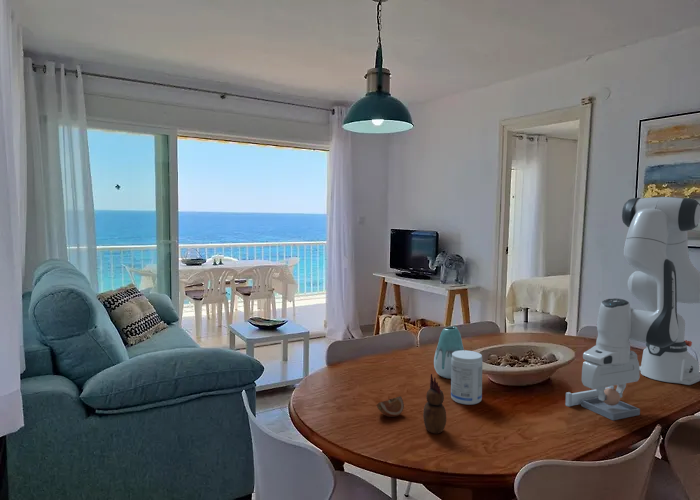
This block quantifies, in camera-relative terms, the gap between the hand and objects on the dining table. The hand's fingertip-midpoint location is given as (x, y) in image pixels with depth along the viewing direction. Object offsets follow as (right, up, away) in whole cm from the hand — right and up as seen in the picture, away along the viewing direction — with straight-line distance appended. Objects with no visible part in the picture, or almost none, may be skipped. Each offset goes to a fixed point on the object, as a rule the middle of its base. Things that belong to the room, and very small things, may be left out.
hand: (610, 398), depth 139 cm
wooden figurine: (-56, -4, -14) cm, 58 cm away
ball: (0, -2, 0) cm, 2 cm away
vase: (-42, -1, +30) cm, 52 cm away
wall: (-3, -3, +7) cm, 8 cm away
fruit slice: (-67, -4, -5) cm, 67 cm away
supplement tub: (-42, -3, +7) cm, 42 cm away
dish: (0, -4, 0) cm, 4 cm away
